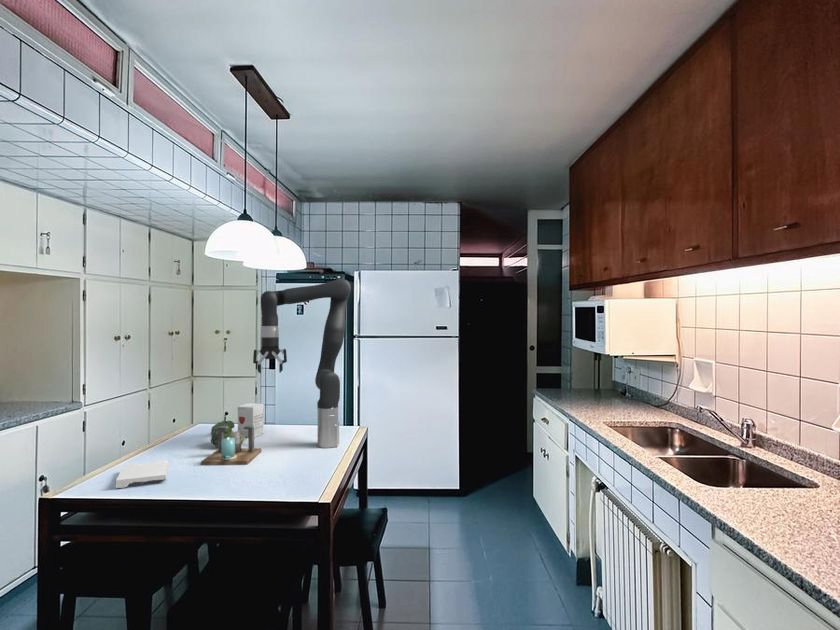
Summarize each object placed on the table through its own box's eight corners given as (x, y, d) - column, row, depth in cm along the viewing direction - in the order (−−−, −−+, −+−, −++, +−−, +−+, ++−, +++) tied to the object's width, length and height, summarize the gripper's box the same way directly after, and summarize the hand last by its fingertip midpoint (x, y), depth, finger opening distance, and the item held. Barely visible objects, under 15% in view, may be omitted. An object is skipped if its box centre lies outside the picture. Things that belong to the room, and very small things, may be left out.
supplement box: (237, 437, 236) (236, 406, 236) (248, 432, 245) (248, 402, 245) (253, 438, 234) (252, 406, 234) (264, 433, 242) (264, 403, 242)
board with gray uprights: (261, 451, 210) (261, 423, 210) (247, 464, 192) (247, 434, 192) (219, 452, 210) (219, 424, 210) (201, 465, 192) (200, 434, 192)
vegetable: (247, 443, 216) (214, 432, 210) (234, 459, 222) (201, 449, 215) (251, 422, 226) (219, 411, 220) (238, 438, 231) (207, 428, 225)
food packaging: (123, 474, 184) (115, 490, 166) (123, 465, 184) (115, 480, 166) (168, 469, 190) (165, 484, 172) (168, 461, 190) (165, 474, 172)
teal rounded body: (234, 459, 193) (234, 440, 193) (220, 460, 191) (220, 441, 191) (235, 452, 201) (235, 435, 201) (222, 454, 200) (222, 436, 200)
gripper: (252, 336, 212) (252, 374, 212) (286, 336, 216) (287, 373, 216) (253, 336, 219) (253, 372, 219) (286, 335, 223) (286, 371, 223)
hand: (270, 372), depth 217 cm, fingers open, 8 cm apart
